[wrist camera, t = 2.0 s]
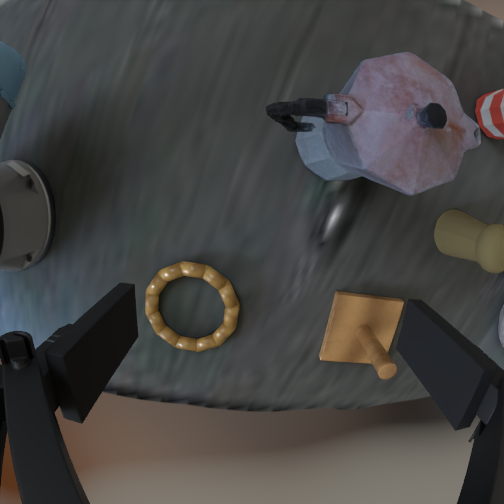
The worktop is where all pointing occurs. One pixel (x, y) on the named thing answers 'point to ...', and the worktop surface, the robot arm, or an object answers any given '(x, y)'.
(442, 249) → the cork
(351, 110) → the moka pot
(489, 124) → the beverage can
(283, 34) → the worktop surface
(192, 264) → the ring
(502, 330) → the coffee pot
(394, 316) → the wooden peg stand
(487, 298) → the worktop surface
